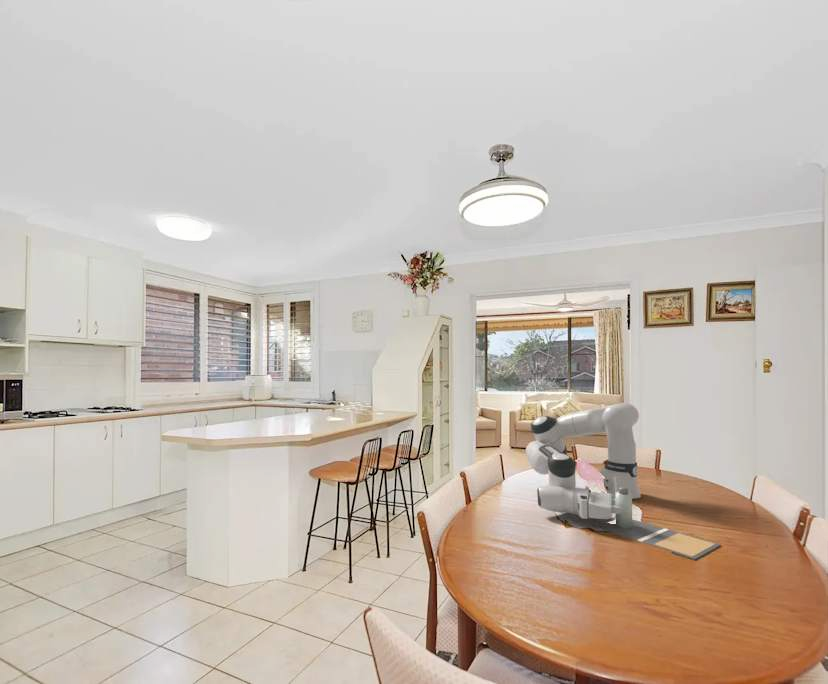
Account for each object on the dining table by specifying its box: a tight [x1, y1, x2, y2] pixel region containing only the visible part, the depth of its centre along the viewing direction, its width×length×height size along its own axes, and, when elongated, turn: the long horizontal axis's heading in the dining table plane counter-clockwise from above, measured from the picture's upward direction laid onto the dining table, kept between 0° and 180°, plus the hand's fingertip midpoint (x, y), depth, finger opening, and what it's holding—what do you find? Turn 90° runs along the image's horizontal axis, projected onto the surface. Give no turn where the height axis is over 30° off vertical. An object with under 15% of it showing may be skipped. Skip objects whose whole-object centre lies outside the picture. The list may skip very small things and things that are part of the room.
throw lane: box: [593, 518, 721, 561], centre depth 148 cm, size 32×18×1 cm, turn 36°
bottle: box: [614, 487, 633, 529], centre depth 157 cm, size 5×5×13 cm
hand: (626, 507), depth 156 cm, fingers open, 6 cm apart
